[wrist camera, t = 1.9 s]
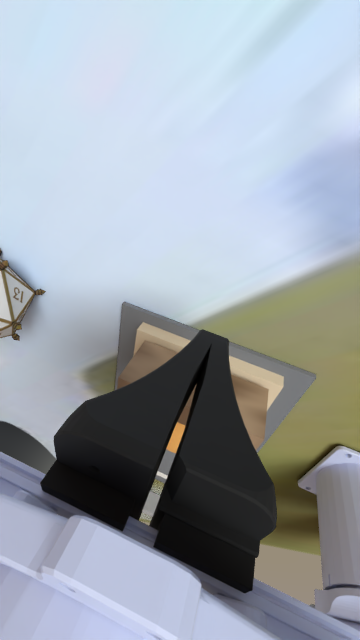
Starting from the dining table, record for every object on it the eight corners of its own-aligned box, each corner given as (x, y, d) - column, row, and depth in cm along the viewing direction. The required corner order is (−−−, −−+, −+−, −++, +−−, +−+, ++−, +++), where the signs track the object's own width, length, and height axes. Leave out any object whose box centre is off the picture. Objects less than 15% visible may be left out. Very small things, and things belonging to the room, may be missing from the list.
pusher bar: (268, 389, 20) (264, 439, 17) (258, 405, 21) (252, 455, 18) (144, 340, 21) (118, 377, 18) (142, 357, 23) (116, 395, 19)
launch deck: (315, 374, 20) (318, 399, 19) (202, 520, 41) (198, 540, 39) (124, 301, 23) (108, 317, 21) (108, 475, 43) (99, 491, 41)
